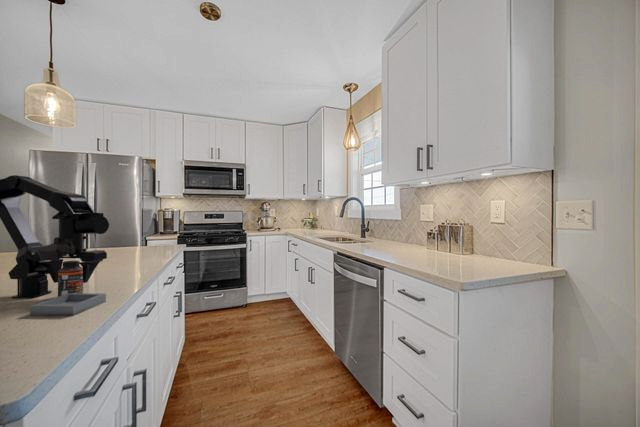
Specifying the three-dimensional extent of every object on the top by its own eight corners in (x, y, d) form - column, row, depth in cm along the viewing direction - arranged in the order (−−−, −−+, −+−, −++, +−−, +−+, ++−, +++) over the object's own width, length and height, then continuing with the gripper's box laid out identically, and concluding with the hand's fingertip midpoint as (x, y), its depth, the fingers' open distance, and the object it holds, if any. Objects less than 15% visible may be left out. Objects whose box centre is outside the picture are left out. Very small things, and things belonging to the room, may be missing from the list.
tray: (30, 315, 70) (30, 305, 70) (69, 301, 81) (69, 293, 81) (73, 315, 71) (73, 306, 71) (105, 301, 82) (105, 293, 82)
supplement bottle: (67, 300, 82) (67, 263, 82) (52, 299, 84) (52, 262, 83) (88, 294, 88) (88, 260, 88) (73, 293, 89) (73, 259, 89)
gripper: (12, 235, 77) (12, 289, 78) (78, 236, 78) (78, 290, 78) (50, 232, 89) (50, 279, 89) (108, 233, 89) (107, 280, 89)
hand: (70, 282), depth 86 cm, fingers open, 9 cm apart
